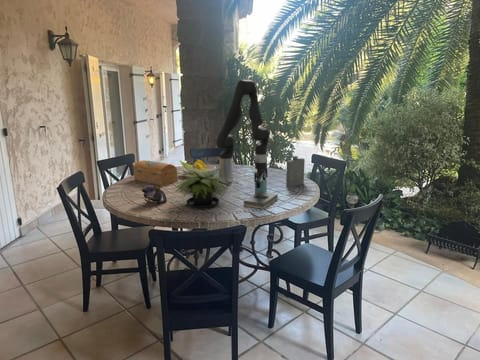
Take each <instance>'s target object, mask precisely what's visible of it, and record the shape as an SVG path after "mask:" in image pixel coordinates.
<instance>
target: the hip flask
mask: <svg viewBox="0 0 480 360" xmlns="http://www.w3.org/2000/svg"><path fill="white" fill-rule="evenodd" d="M305 163H306V161H305V158H299V156H298V155H292V159H291V160H290V159H289V160H287V161H286V173H285V174H286V176H285V177H286V179H285V181H286V184H285V185H286V186H285V187H286V188H288V189H289V188H292V187H296V185H297V186H300V184H301V185H304V183H305Z"/></svg>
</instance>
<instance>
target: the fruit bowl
mask: <svg viewBox="0 0 480 360" xmlns="http://www.w3.org/2000/svg"><path fill="white" fill-rule="evenodd" d="M179 162H180V165H181V164H182V168H181V172H183V173H184V175H185V176H186V175H187V174H188V171H189V170H190V169H191V168H185V167H188V166H191V167H193V165H195V169H198V170H200V173H201V174H204V173H203V172H206V171H209V172H212V171H213V170H214V171H215V170H216V169H217V167H216V166H215V165H212V164H206V163H205V162H204V161H203V160H202V159H197V160H196V161H195V162H194V163H193V164H189V163H187V162H185V161H182V160H179ZM183 164H184V165H187V166H184V165H183ZM185 169H189V170H185ZM209 172H208V173H209ZM215 172H216V171H215Z"/></svg>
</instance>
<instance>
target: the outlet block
mask: <svg viewBox="0 0 480 360" xmlns="http://www.w3.org/2000/svg"><path fill="white" fill-rule="evenodd" d="M278 195H279V194H278V193H272V192H258V193H254V194H252V195H251V196H249V197H247V198H246V199H244V200H243V206H245V207H250V208H258V209H265V208H266V207H268V206H270V205H271V204H272V203H274V202H276V201H277V200H278V197H279V196H278Z"/></svg>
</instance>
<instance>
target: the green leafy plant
mask: <svg viewBox="0 0 480 360" xmlns="http://www.w3.org/2000/svg"><path fill="white" fill-rule="evenodd" d="M192 165H193V167H194V168H195V165H194V164H192ZM192 170H193V169H192ZM192 170H191V171H190V170H189V171H188V174H187V175H190V176H192V177H190V176H186V175H185V180H186V179H188V178H187V177H189V180H190V178H195V177H196V176H195V175H194V172H195V171H194V170H193V171H194V172H193V171H192ZM196 170H198V169H196ZM198 171H199V172H200V170H198ZM198 171H197V172H198ZM192 172H193V173H192ZM195 174H196V173H195ZM199 174H201V173H199ZM199 174H198V175H199ZM196 175H197V174H196ZM186 187H187V186H186ZM187 188H188V187H187ZM187 188H186V189H187Z"/></svg>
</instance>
